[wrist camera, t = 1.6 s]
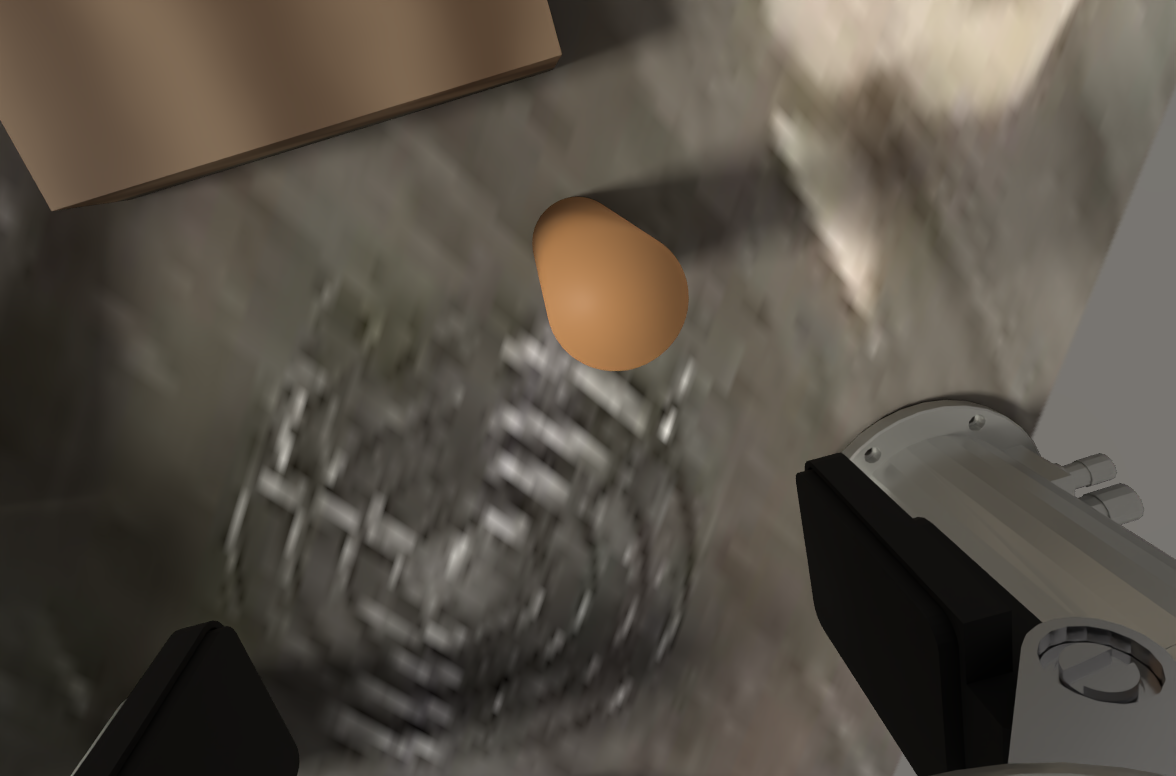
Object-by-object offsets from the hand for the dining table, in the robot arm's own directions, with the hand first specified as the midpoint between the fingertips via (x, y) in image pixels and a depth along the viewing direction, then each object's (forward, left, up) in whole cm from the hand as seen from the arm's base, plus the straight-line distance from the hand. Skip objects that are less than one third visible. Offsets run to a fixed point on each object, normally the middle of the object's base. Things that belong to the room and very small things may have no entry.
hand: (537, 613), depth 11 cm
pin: (-3, -2, -21) cm, 22 cm away
